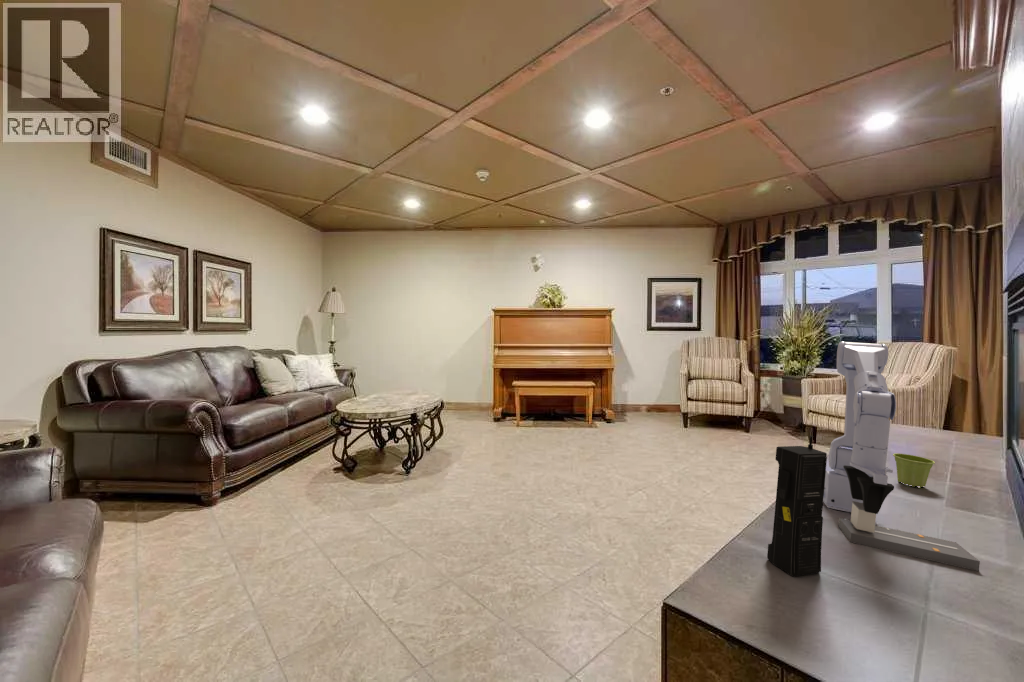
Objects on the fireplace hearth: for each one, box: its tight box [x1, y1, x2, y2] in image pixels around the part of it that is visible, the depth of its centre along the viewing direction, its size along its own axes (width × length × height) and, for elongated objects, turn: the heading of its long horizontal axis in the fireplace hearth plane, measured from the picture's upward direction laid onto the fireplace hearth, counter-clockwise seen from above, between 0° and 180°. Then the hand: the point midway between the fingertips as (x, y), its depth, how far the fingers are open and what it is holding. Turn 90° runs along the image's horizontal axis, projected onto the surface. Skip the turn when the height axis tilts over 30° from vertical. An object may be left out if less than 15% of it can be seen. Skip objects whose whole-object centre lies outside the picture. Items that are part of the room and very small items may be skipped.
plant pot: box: [892, 453, 936, 487], centre depth 125 cm, size 9×9×9 cm
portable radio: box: [766, 435, 828, 577], centre depth 75 cm, size 8×6×25 cm
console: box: [838, 517, 981, 572], centre depth 86 cm, size 20×8×2 cm, turn 65°
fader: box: [850, 501, 877, 533], centre depth 89 cm, size 3×4×5 cm
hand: (864, 505), depth 88 cm, fingers open, 7 cm apart
